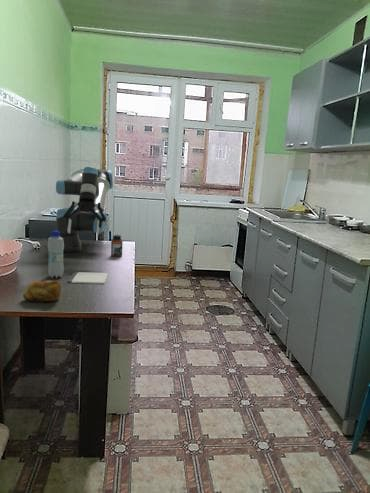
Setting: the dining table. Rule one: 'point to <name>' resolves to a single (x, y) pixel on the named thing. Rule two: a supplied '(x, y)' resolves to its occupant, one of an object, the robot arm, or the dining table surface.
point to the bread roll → (43, 291)
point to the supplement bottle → (116, 246)
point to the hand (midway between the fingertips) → (83, 232)
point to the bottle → (55, 255)
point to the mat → (88, 278)
